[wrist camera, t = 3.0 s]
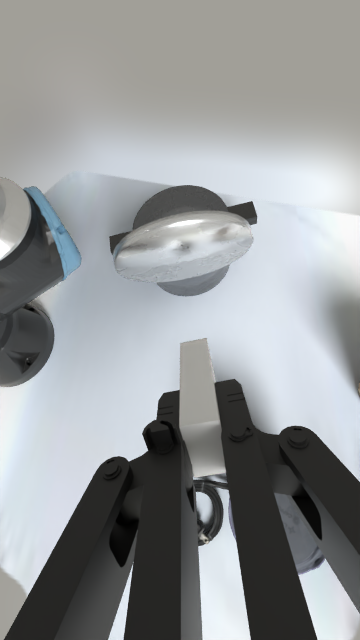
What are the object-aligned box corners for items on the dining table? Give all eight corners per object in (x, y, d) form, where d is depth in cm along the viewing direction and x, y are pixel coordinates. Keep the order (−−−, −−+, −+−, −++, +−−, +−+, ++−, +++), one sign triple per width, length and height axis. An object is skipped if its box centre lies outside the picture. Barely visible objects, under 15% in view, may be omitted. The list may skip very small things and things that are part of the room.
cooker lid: (136, 283, 45) (137, 291, 44) (88, 236, 28) (90, 248, 28) (244, 258, 43) (246, 266, 43) (259, 193, 27) (262, 205, 27)
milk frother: (313, 478, 40) (353, 501, 27) (254, 596, 37) (265, 690, 24) (221, 417, 45) (215, 410, 31) (161, 517, 42) (126, 557, 28)
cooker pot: (133, 309, 54) (112, 283, 45) (125, 240, 59) (105, 204, 50) (262, 280, 52) (268, 247, 42) (241, 211, 57) (243, 168, 48)
